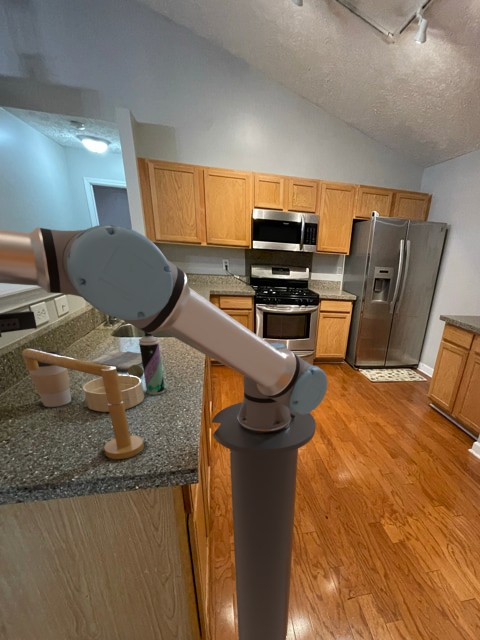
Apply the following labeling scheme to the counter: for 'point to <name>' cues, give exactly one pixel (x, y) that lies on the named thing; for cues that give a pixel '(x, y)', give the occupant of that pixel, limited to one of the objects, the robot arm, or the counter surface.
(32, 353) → the faucet spout
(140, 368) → the lime
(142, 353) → the spray can
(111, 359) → the dish towel
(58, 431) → the counter surface
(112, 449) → the base
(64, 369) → the coffee cup
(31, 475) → the counter surface
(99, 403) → the cream bowl
